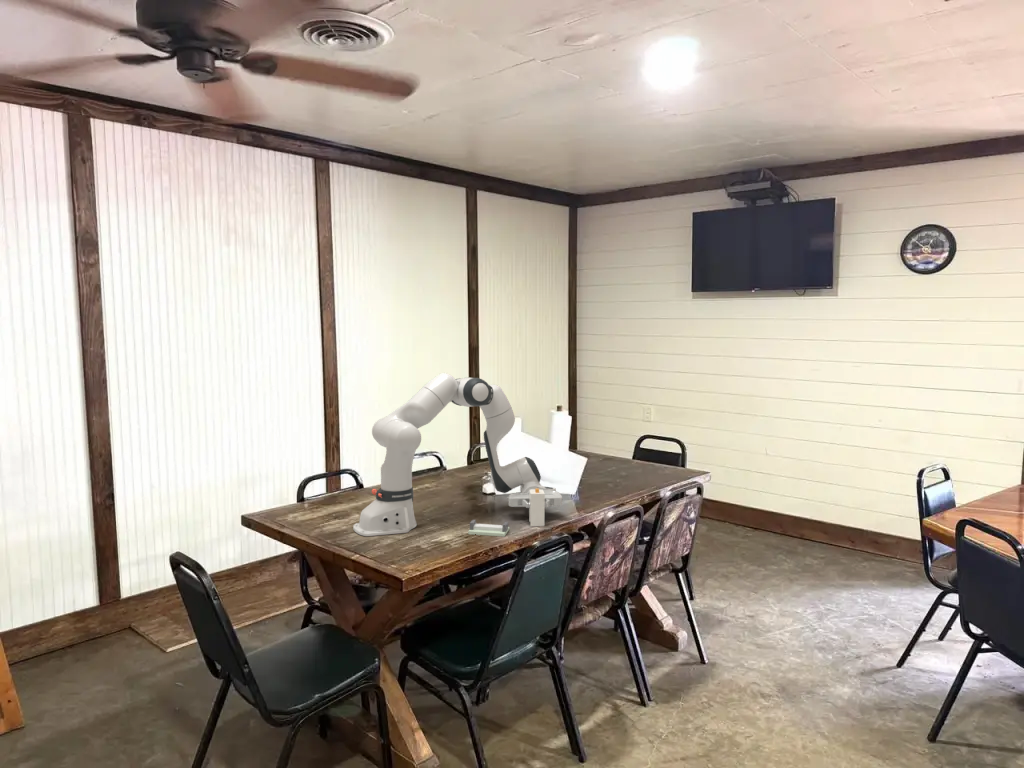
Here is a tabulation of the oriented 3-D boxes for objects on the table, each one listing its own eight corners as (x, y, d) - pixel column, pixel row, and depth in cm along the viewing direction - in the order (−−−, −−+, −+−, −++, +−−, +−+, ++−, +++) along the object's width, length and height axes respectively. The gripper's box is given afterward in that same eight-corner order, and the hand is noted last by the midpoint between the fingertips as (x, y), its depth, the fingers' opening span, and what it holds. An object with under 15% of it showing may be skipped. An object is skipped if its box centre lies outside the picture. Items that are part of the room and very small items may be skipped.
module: (529, 521, 259) (529, 486, 257) (542, 521, 259) (542, 486, 258) (530, 526, 252) (530, 490, 251) (544, 526, 253) (544, 490, 251)
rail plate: (474, 527, 251) (474, 518, 250) (509, 529, 248) (509, 520, 248) (468, 534, 243) (468, 524, 242) (504, 536, 240) (504, 527, 240)
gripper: (506, 488, 267) (508, 497, 253) (559, 487, 268) (564, 496, 254) (506, 504, 267) (508, 514, 254) (559, 503, 269) (564, 513, 255)
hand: (537, 505), depth 254 cm, fingers closed on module, 5 cm apart
